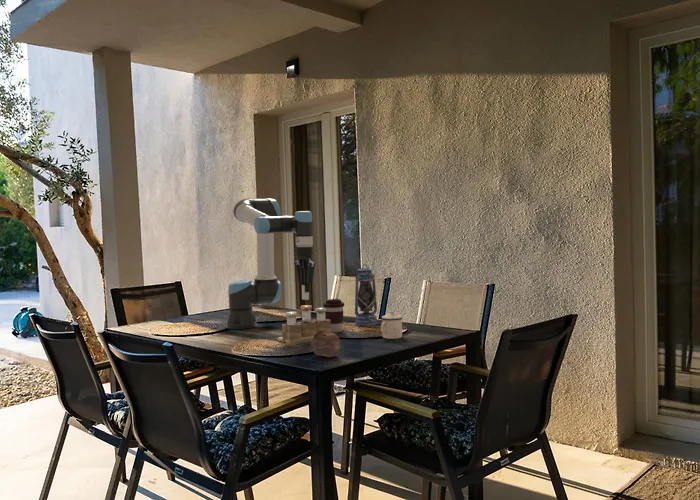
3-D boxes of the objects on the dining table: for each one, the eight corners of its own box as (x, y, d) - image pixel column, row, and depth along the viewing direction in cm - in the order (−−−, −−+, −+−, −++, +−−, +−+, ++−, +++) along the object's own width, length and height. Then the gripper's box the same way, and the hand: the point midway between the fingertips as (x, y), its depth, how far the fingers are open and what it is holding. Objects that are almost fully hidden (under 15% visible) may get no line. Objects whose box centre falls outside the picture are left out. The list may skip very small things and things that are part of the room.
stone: (310, 356, 232) (309, 330, 232) (324, 352, 239) (323, 327, 238) (335, 360, 224) (334, 333, 224) (349, 355, 231) (348, 329, 231)
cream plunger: (283, 335, 263) (283, 312, 262) (293, 334, 266) (292, 311, 265) (290, 337, 259) (289, 313, 258) (299, 335, 262) (299, 312, 262)
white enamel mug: (390, 334, 273) (390, 308, 272) (406, 336, 266) (406, 310, 266) (373, 338, 264) (372, 312, 263) (389, 341, 258) (389, 313, 257)
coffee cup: (342, 333, 279) (341, 301, 278) (321, 333, 281) (320, 301, 280) (347, 329, 289) (346, 298, 288) (326, 329, 291) (325, 298, 290)
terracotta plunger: (299, 329, 268) (298, 306, 267) (308, 327, 271) (307, 304, 270) (305, 330, 264) (304, 307, 263) (314, 328, 267) (314, 305, 266)
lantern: (368, 320, 315) (366, 263, 314) (385, 322, 306) (384, 263, 305) (347, 324, 304) (345, 264, 303) (364, 326, 295) (362, 265, 294)
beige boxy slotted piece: (277, 340, 265) (277, 323, 265) (320, 333, 279) (319, 317, 279) (293, 344, 256) (292, 327, 255) (335, 337, 270) (335, 320, 270)
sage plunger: (313, 331, 273) (313, 308, 272) (322, 329, 276) (322, 307, 275) (320, 332, 269) (319, 309, 268) (329, 330, 272) (328, 308, 272)
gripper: (288, 246, 268) (290, 298, 270) (305, 247, 258) (307, 301, 260) (302, 245, 273) (304, 297, 274) (319, 246, 263) (321, 299, 264)
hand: (305, 299), depth 267 cm, fingers closed
